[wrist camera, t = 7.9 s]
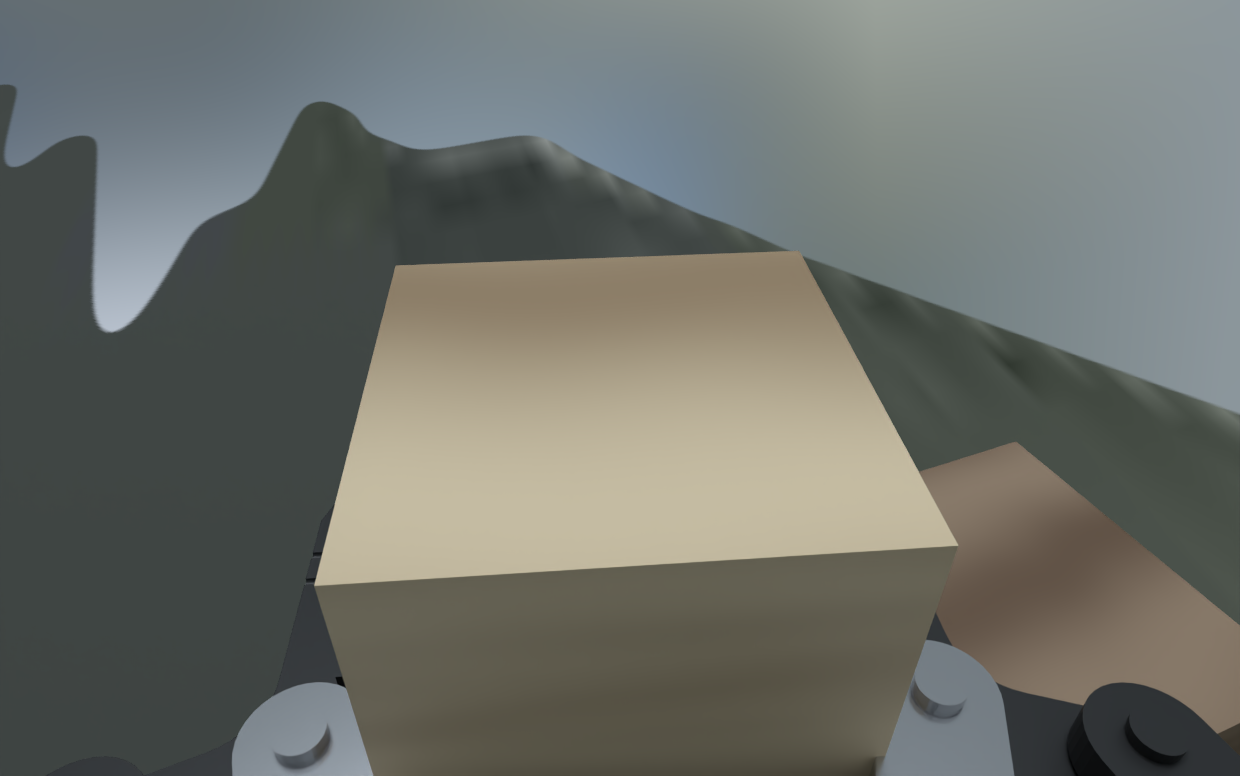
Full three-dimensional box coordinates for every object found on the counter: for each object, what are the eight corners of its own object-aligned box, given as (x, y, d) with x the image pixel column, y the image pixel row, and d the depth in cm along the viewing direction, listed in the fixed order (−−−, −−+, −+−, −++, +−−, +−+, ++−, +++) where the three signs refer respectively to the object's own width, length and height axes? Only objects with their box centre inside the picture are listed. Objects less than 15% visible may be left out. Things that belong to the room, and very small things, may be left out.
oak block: (788, 1036, 12) (958, 544, 6) (465, 1070, 12) (313, 586, 6) (728, 741, 16) (799, 250, 10) (479, 761, 15) (396, 265, 9)
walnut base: (1213, 813, 24) (1314, 686, 21) (924, 965, 21) (984, 847, 18) (972, 566, 32) (1015, 441, 28) (733, 652, 29) (748, 525, 25)
